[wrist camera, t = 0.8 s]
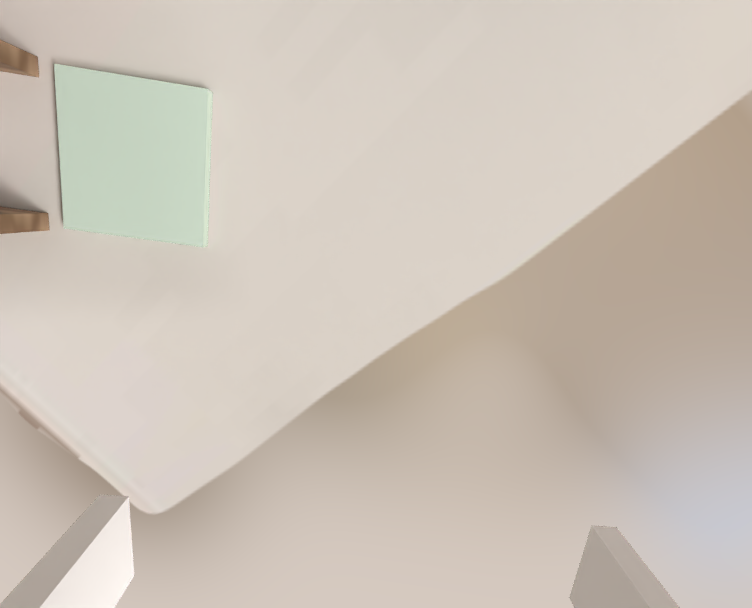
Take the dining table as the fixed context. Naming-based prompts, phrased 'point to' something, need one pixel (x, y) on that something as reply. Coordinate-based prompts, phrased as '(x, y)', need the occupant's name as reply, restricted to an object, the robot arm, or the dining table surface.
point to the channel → (10, 219)
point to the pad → (134, 155)
